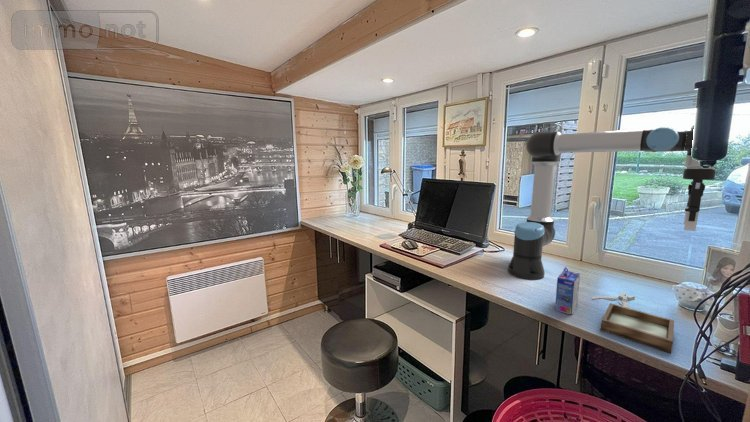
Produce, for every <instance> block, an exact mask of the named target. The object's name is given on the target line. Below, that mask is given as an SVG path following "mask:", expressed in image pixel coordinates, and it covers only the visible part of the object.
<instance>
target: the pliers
mask: <svg viewBox="0 0 750 422" xmlns="http://www.w3.org/2000/svg"><path fill="white" fill-rule="evenodd" d="M635 298H636V296H635V295H628V296H627V293H626V292H623V293H622V292H621V293H620V294H619V295H618V296H607V295H606V296H604V295H600V296H599V295H598V296H594V297H591V301H592V300H600V299H602V300H607V301H616V300H618V301H617V302H618V305H619V306H623V307H627V308H629V303H628V302H629V301H633V300H636V299H635ZM620 301H621V302H620Z"/></svg>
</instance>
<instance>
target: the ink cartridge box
mask: <svg viewBox="0 0 750 422" xmlns="http://www.w3.org/2000/svg"><path fill="white" fill-rule="evenodd" d="M580 279H581V274H580V272H579V273H578V272H574V271H570V270H569V269H568V268H567V266H565V267H564V268H563V271H562V272H561V273H560V274H559V275H558V277H557V279H556V291H555V309H554V310H555V311H557V312H561V313H563V314H567V315H570V316H572V315H573V314H574V312H575V311H576V308H577V307H578V302H579V301H578V300H579V290H580Z"/></svg>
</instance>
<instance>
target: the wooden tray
mask: <svg viewBox="0 0 750 422" xmlns="http://www.w3.org/2000/svg"><path fill="white" fill-rule="evenodd" d="M599 327H600V328H599V330H600V331H601V332H605V333H608V334H611V335H614V336H617V337H620V338H623V339H626V340H629V341H632V342H635V343H638V344H641V345H644V346H647V347H650V348H653V349H656V350H658V351H659V350H660V351H662V352H665V353H668V354H672V349H673V345H674V344H673V343H674V333H675V319H674V320H673V319H670V318H666V317H662V316H659V315H655V314H652V313H648V312H644V311H641V310H637V309H634V308H631V307H630V308H629V307H628V308H627V307H623V306H622V305H620V304H616V303H611V302H609V304H608V307H607V308H606V310H605V312H604V314H603V316H602V318H601V320H600V326H599Z"/></svg>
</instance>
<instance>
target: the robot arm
mask: <svg viewBox="0 0 750 422" xmlns="http://www.w3.org/2000/svg"><path fill="white" fill-rule="evenodd" d="M694 124H695V123H693V124H692V125H691V127H690V128H688V129H679V130H678V129H677V130H676V129H675V128H672V127H668V126H667V127H666V126H663V127H661V126H660V127H658V128H646V129H645V128H643V129H640V128H639V129H627V130H626V129H625V130H609V131H607V130H606V131H594V132H593V131H592V132H591V131H590V132H576V133H575V132H574V133H562V132H561V131H538V132H535V133H533V134H532V135H530V137H528V139H527V141H526V144H525V149H526V151H527V153H528V154H529V156H531V163H532V165H534V170H533V171H534V172H533V182H532V183H533V184H532V193H531V194H532V195H531V205H530V207H531V208H530V215H529V216H527V217H526V221H525V222H524V221H522V222H520V223H517V224H516V225H515V230H514V238H513V239H514V240H513V255H512V258H511V259H510V262H509V264H508V267H507V272H508V273H509V274H510V275H512V276H514V277H516V278H521V279H524V280H541V279H544V278H545V269H544V264H543V262H542V256H543V247H545V246H548V245H549V244H551V243H552V241H554V239H555V236H556V229H555V225H554V224H555V219H553V218H552V210H553V209H552V208H553V207H552V206H553V200H554V199H553V197H554V196H553V195H554V188H555V176H556V169H557V168H556V167H557V166H558V165H559V164H560V163H561V155H562V154H565V153H567V154H568V153H569V154H571V153H575V154H576V153H607V152H608V153H610V152H611V153H612V152H613V153H615V152H616V153H617V152H647V153H648V152H649V153H658V152H663V153H664V152H686V157H685V161H684V167H685V169H684V170H683V174H682V179H683V180H692V181H690V184H689V183H688V186H687V190H688V191H687V194H688V199H687V203H686V208H684V212H685V214H684V221H683V225H684V227H683V230H684V231H690V232H691V231H692V232H696V229H697V224H698V218H699V212H700V210H701V202H702V197H704V191H705V189H706V185H705V183H704V182H703V180H704V181H713V180H715V177H716V173H717V172H716V169H715V168H716V167H717V164H718V163H717V164H716V165H715V166H714V167H711V168H701V167H700V166H699V163H698V161H695V160H693V159H692V157H691V148H692V140H693V129H694Z"/></svg>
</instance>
